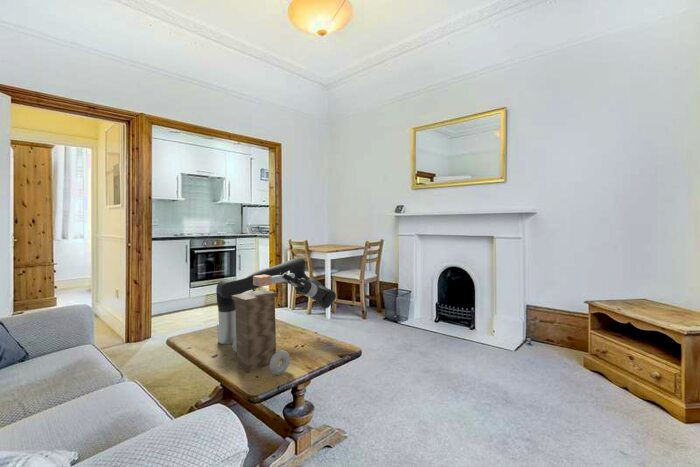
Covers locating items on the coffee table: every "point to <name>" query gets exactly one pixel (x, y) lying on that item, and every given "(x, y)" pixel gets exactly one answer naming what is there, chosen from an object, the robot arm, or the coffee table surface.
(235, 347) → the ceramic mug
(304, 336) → the coffee table surface
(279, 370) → the donut
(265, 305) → the walnut stand
